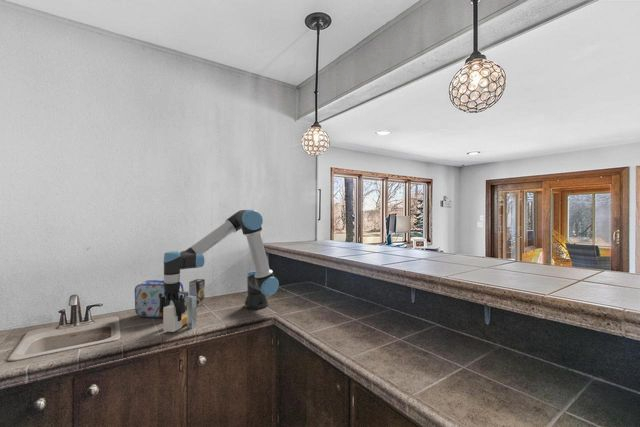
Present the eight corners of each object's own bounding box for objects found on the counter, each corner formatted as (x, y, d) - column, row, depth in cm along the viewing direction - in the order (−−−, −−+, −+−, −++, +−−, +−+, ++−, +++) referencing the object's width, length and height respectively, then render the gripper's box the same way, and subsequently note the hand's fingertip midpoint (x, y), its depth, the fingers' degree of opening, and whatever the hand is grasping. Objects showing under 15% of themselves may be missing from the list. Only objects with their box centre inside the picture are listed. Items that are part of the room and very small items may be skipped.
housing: (196, 326, 162) (196, 292, 162) (191, 328, 158) (191, 294, 158) (173, 324, 165) (173, 290, 165) (168, 326, 161) (168, 292, 161)
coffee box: (197, 306, 195) (197, 282, 195) (188, 306, 196) (188, 281, 196) (205, 302, 204) (205, 279, 204) (196, 302, 205) (196, 278, 205)
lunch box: (187, 312, 183) (187, 277, 183) (179, 318, 173) (179, 281, 173) (142, 312, 184) (142, 277, 184) (132, 318, 173) (132, 280, 173)
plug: (190, 316, 172) (190, 296, 172) (199, 317, 171) (199, 296, 171) (163, 330, 152) (163, 307, 152) (173, 332, 150) (173, 308, 150)
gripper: (193, 281, 155) (193, 325, 155) (161, 279, 159) (161, 322, 159) (183, 284, 148) (183, 331, 148) (150, 282, 152) (150, 328, 152)
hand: (172, 326), depth 154 cm, fingers closed on plug, 6 cm apart
